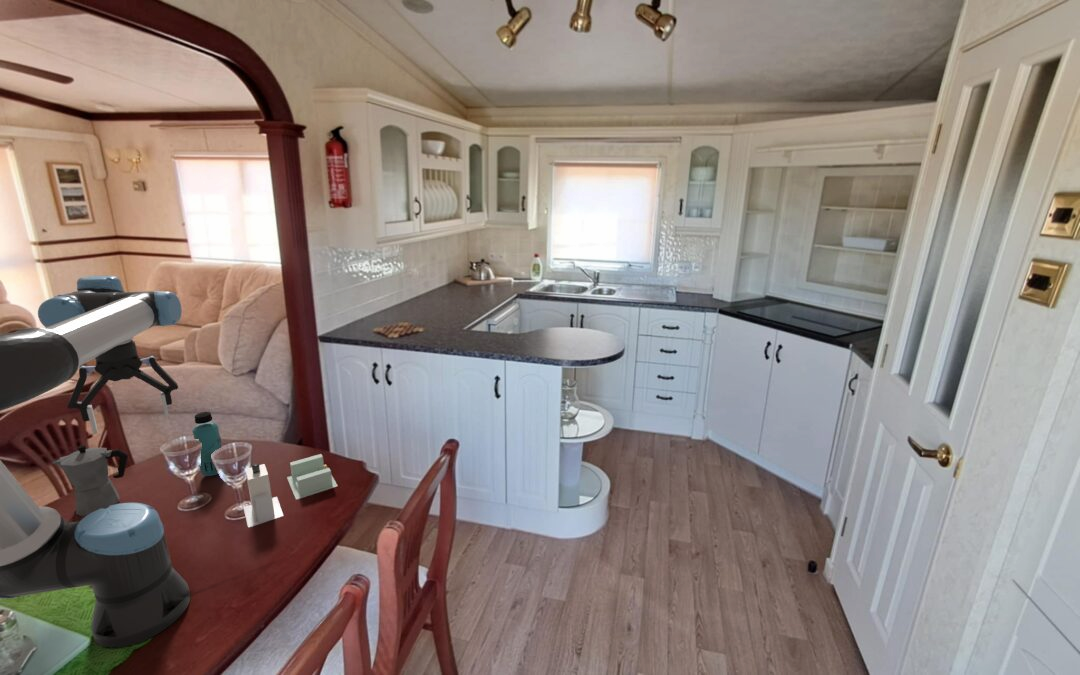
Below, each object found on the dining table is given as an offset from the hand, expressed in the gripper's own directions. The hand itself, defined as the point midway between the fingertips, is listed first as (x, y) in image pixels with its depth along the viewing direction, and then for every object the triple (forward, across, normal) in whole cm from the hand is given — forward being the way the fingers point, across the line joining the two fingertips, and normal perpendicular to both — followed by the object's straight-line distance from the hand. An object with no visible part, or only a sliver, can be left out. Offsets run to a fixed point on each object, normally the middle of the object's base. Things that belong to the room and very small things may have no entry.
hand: (132, 424), depth 117 cm
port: (+26, -36, +11) cm, 46 cm away
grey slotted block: (+26, -22, +17) cm, 38 cm away
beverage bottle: (+26, -15, -12) cm, 32 cm away
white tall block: (+25, -22, +17) cm, 38 cm away
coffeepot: (+26, +10, -13) cm, 31 cm away
